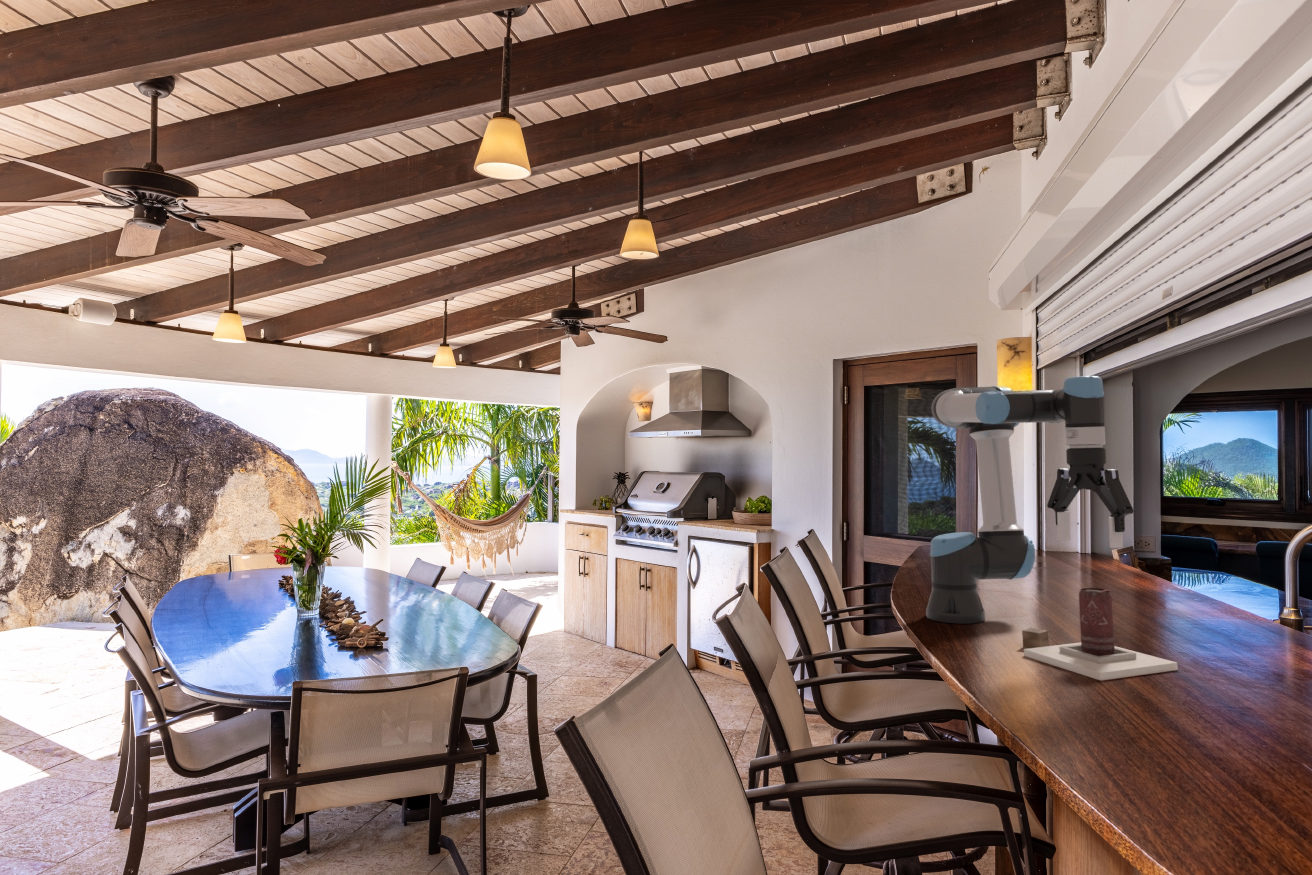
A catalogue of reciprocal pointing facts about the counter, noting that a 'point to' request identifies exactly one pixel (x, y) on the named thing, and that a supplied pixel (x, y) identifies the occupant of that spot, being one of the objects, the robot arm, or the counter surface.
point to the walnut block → (1035, 638)
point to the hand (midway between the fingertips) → (1089, 544)
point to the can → (1096, 621)
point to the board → (1100, 661)
